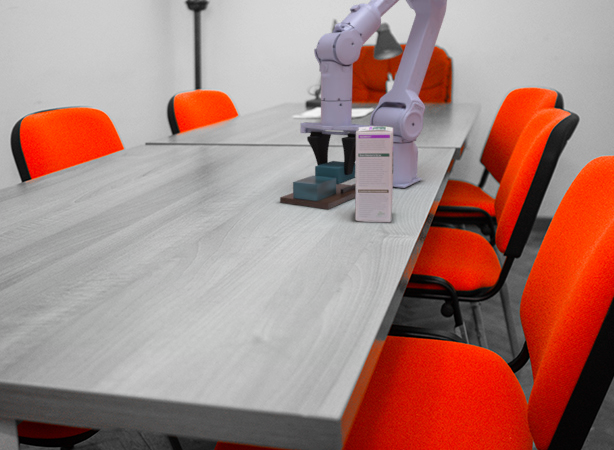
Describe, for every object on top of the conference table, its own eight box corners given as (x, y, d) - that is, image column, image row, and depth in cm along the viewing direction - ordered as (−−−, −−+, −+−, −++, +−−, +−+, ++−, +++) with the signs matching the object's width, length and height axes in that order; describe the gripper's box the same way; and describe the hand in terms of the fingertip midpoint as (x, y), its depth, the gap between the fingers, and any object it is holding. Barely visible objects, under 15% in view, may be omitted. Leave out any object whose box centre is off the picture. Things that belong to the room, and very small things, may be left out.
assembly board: (323, 186, 117) (323, 167, 116) (368, 192, 111) (368, 171, 110) (280, 202, 104) (279, 181, 103) (328, 209, 99) (328, 186, 97)
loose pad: (332, 175, 114) (332, 160, 113) (355, 178, 111) (355, 162, 110) (314, 181, 108) (314, 166, 108) (338, 184, 106) (338, 168, 105)
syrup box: (391, 222, 90) (395, 129, 86) (353, 221, 91) (355, 129, 87) (391, 213, 95) (395, 125, 91) (355, 212, 96) (357, 125, 92)
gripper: (291, 100, 107) (292, 172, 110) (362, 102, 99) (360, 179, 102) (311, 98, 112) (310, 167, 116) (379, 100, 104) (377, 173, 108)
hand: (335, 172), depth 109 cm, fingers closed on loose pad, 5 cm apart
